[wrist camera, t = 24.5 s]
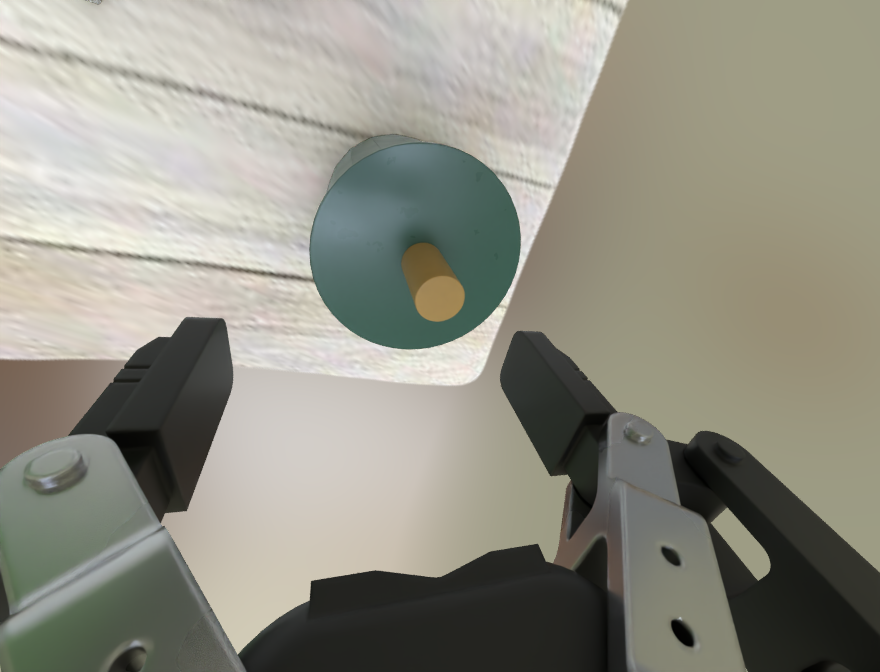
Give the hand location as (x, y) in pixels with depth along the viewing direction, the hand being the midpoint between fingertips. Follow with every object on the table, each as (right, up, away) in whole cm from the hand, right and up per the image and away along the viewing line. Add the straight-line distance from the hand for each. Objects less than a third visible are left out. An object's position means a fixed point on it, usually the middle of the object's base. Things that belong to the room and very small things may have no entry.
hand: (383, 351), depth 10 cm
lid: (0, +6, +14) cm, 15 cm away
